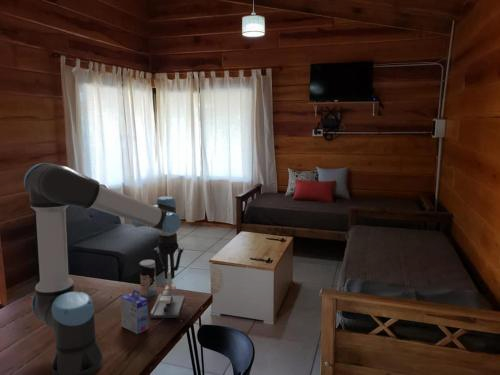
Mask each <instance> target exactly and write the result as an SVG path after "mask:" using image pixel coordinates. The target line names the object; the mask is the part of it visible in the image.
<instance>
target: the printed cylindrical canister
mask: <svg viewBox="0 0 500 375" xmlns="http://www.w3.org/2000/svg"><path fill="white" fill-rule="evenodd" d="M139 276H140V293H141V297H144V298H146V297H148V298H149V297H153V296H155V295H156V294H157V278H156V277H157V274H156V261H155V260H154V259H143V260H141V261H140V262H139Z"/></svg>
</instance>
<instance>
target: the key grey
mask: <svg viewBox="0 0 500 375" xmlns="http://www.w3.org/2000/svg"><path fill="white" fill-rule="evenodd" d="M161 294H162V296H171V298H172V296H174V292H173V290H163V291H162V293H161Z"/></svg>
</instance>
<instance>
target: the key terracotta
mask: <svg viewBox="0 0 500 375" xmlns="http://www.w3.org/2000/svg"><path fill="white" fill-rule="evenodd" d="M164 290H173V293H174V292H175V290H176V285H175V284H174V285H173V284H172V286H171V287H168V284H167V285H165V287H164ZM164 290H163V291H164Z"/></svg>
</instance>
